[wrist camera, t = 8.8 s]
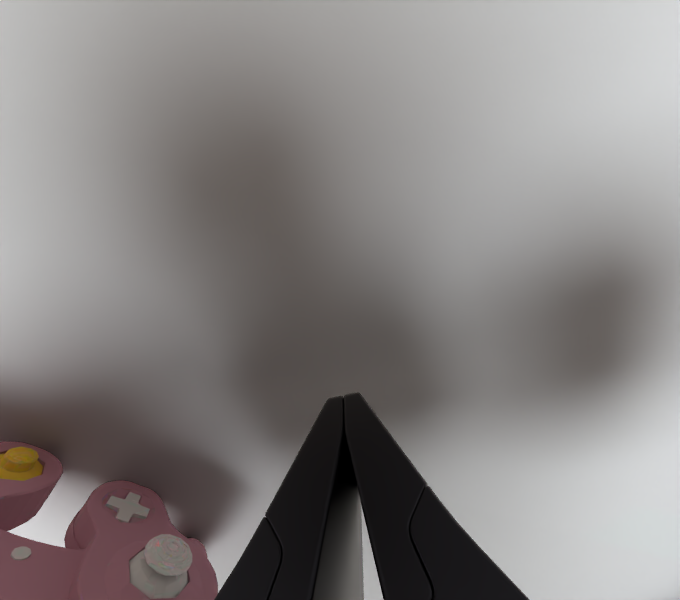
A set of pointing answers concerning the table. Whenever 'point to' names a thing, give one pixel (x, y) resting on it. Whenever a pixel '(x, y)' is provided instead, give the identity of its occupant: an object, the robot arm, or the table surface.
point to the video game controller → (94, 541)
